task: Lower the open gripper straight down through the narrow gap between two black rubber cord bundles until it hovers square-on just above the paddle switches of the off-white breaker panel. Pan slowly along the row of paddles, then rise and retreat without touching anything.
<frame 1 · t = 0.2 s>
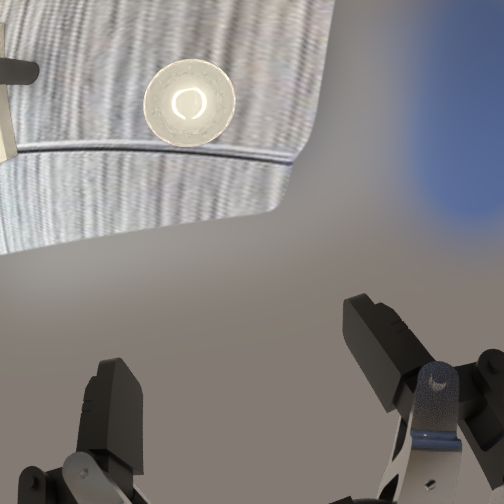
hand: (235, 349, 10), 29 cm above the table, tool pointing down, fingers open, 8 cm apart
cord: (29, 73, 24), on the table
white cup: (188, 103, 31), on the table
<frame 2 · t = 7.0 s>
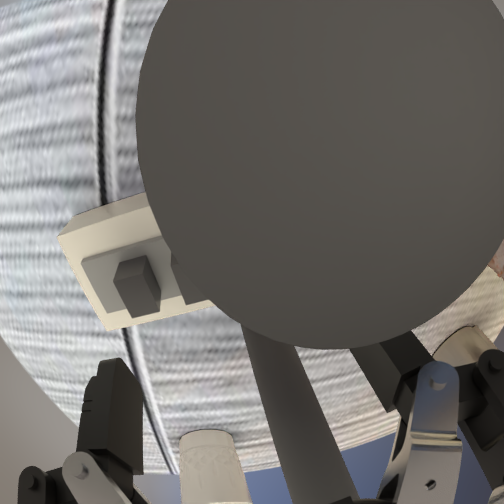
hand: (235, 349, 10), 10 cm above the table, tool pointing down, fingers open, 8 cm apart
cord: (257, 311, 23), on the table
breaker panel: (237, 222, 19), on the table
white cup: (205, 438, 32), on the table
food item: (503, 234, 27), on the table
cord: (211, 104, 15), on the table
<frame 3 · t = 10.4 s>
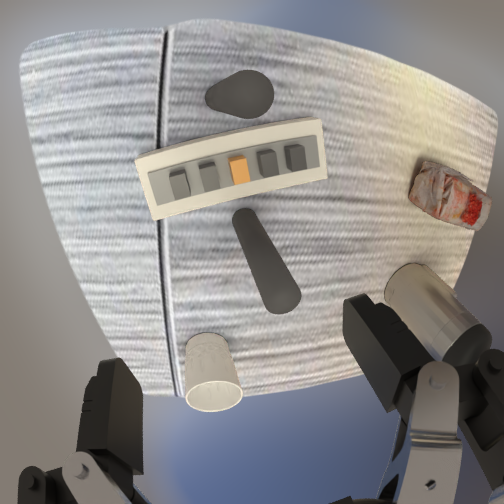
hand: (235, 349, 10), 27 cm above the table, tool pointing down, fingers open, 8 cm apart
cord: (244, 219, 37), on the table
breaker panel: (232, 161, 33), on the table
white cup: (206, 346, 46), on the table
food item: (434, 187, 41), on the table
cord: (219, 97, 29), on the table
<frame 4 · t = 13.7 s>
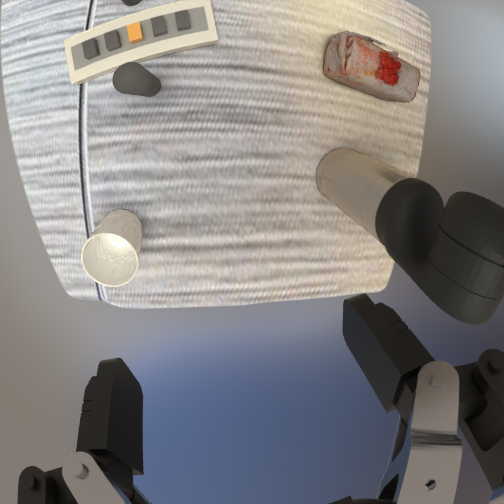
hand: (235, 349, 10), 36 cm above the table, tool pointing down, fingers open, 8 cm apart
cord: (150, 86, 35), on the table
breaker panel: (140, 39, 31), on the table
white cup: (122, 228, 44), on the table
food item: (356, 69, 39), on the table
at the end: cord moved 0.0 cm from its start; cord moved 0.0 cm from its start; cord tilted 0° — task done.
